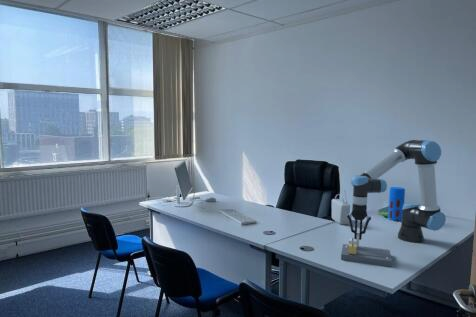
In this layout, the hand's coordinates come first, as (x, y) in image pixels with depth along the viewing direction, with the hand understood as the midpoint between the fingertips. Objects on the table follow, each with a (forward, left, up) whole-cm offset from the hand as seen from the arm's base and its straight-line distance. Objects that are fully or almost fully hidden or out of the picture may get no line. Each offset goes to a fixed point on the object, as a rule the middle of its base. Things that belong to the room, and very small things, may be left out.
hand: (357, 244), depth 197 cm
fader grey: (+3, 0, -1) cm, 3 cm away
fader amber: (+2, +10, -1) cm, 10 cm away
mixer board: (-5, +5, -5) cm, 8 cm away
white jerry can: (+13, -67, -5) cm, 68 cm away
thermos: (-27, -92, -5) cm, 96 cm away
